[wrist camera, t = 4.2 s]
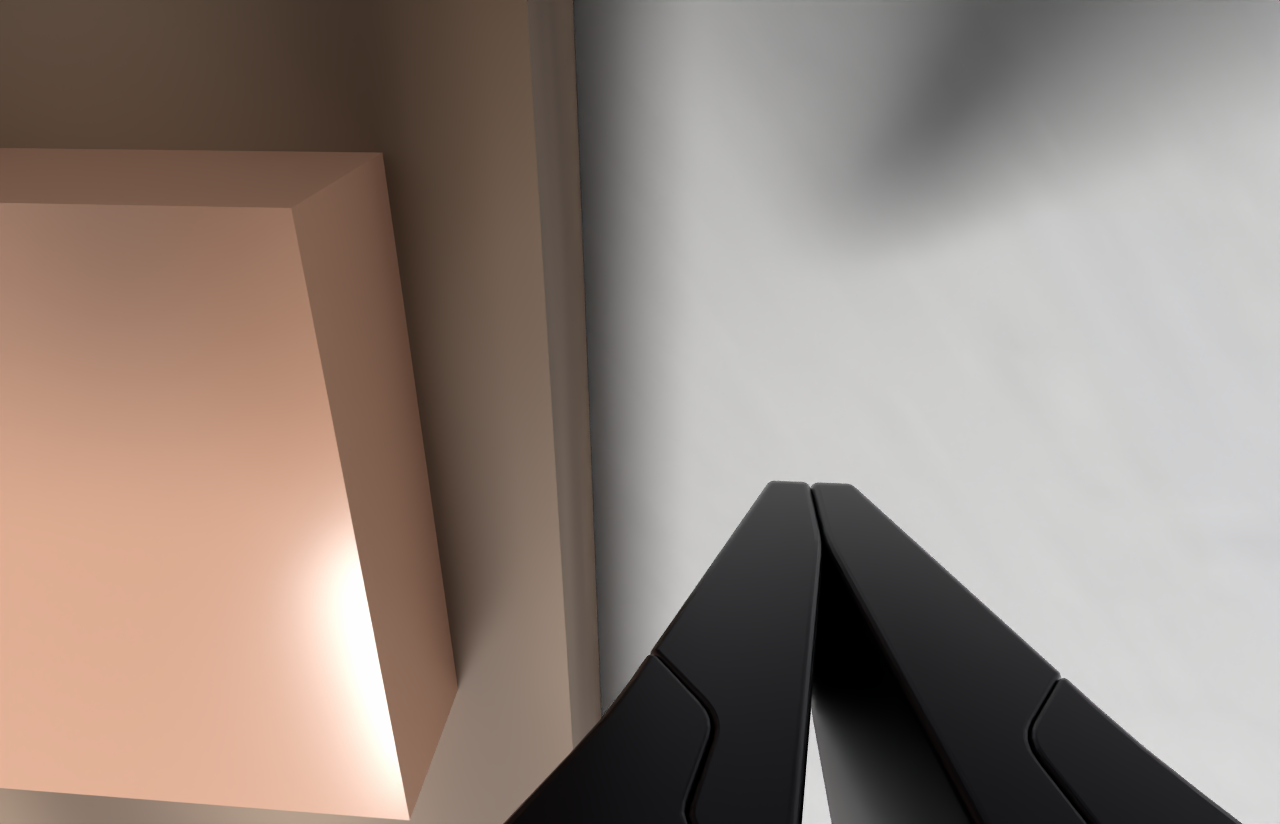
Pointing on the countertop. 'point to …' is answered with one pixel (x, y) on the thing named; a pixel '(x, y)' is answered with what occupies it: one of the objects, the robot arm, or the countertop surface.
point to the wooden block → (433, 301)
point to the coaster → (213, 485)
